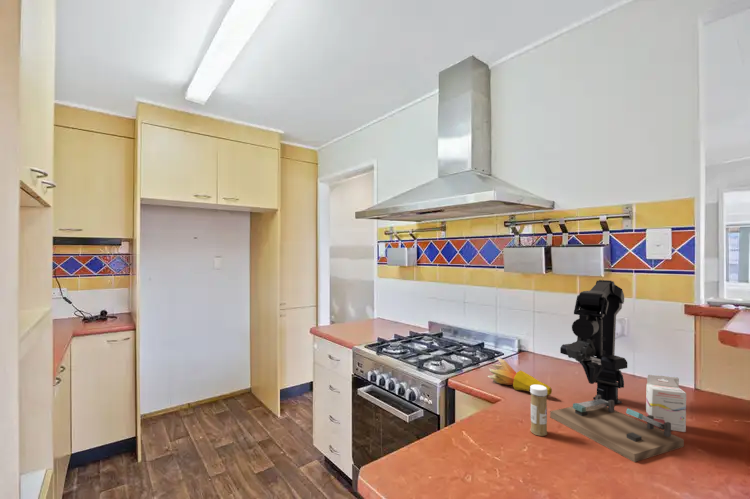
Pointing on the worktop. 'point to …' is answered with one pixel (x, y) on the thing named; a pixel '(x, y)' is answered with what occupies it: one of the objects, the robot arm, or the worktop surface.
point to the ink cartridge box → (666, 401)
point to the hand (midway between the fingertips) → (591, 383)
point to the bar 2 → (645, 418)
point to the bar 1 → (590, 405)
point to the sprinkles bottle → (538, 410)
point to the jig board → (619, 431)
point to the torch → (514, 377)
